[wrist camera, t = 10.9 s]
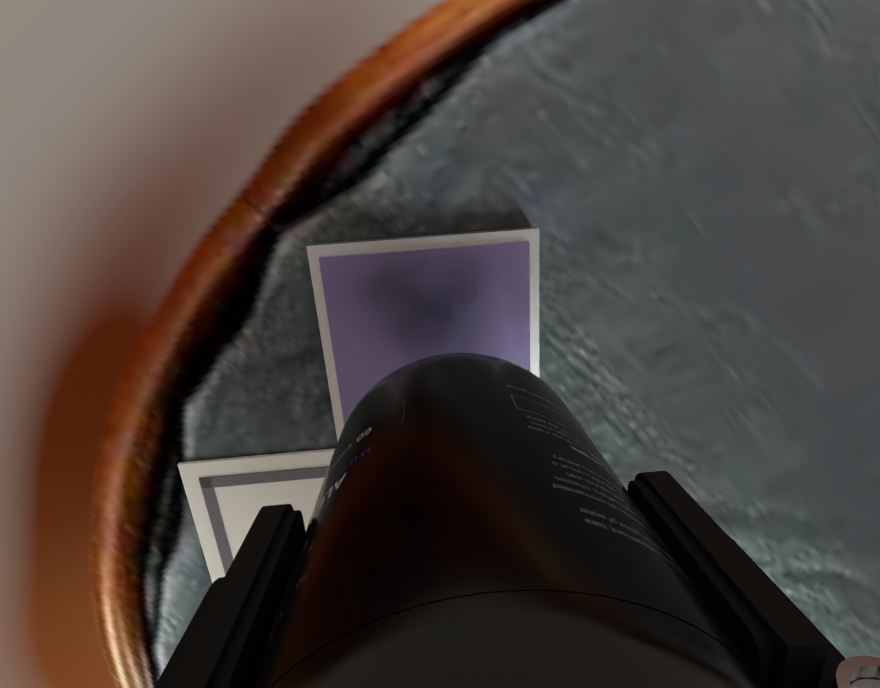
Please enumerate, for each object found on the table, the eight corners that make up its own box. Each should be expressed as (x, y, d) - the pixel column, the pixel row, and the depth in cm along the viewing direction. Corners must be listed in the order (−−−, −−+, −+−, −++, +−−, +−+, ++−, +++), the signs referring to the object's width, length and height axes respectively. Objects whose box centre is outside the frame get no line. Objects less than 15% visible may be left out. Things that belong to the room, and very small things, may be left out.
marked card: (445, 624, 28) (446, 629, 27) (233, 646, 27) (231, 651, 27) (429, 439, 24) (430, 442, 23) (179, 462, 23) (176, 465, 23)
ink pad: (533, 421, 24) (540, 436, 22) (342, 438, 23) (338, 454, 22) (532, 226, 20) (541, 229, 19) (312, 243, 20) (304, 246, 19)
